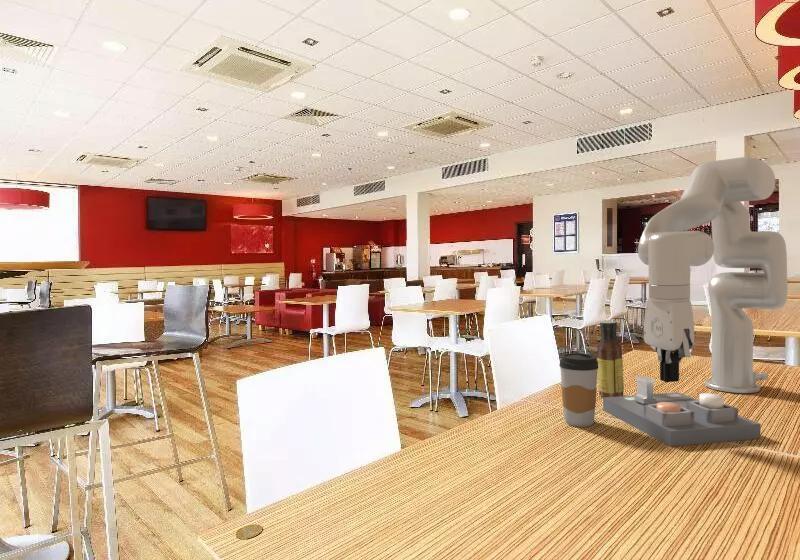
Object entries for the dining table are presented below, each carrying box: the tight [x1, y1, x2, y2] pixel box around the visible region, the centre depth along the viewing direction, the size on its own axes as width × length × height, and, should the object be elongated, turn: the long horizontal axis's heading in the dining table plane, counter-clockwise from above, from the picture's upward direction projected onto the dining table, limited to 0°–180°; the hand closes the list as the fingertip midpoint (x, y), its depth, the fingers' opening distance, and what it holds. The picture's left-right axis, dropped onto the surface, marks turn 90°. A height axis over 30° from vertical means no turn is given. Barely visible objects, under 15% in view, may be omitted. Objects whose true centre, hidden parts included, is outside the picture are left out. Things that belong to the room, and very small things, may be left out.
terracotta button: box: [657, 402, 681, 413], centre depth 106 cm, size 4×4×2 cm
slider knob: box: [633, 374, 656, 404], centre depth 118 cm, size 3×4×6 cm
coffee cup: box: [558, 352, 599, 428], centre depth 115 cm, size 8×8×15 cm
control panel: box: [602, 391, 762, 447], centre depth 113 cm, size 20×24×6 cm
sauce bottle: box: [596, 320, 625, 398], centre depth 134 cm, size 7×6×20 cm
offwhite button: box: [698, 392, 725, 409], centre depth 108 cm, size 4×4×2 cm
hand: (669, 380), depth 106 cm, fingers closed
